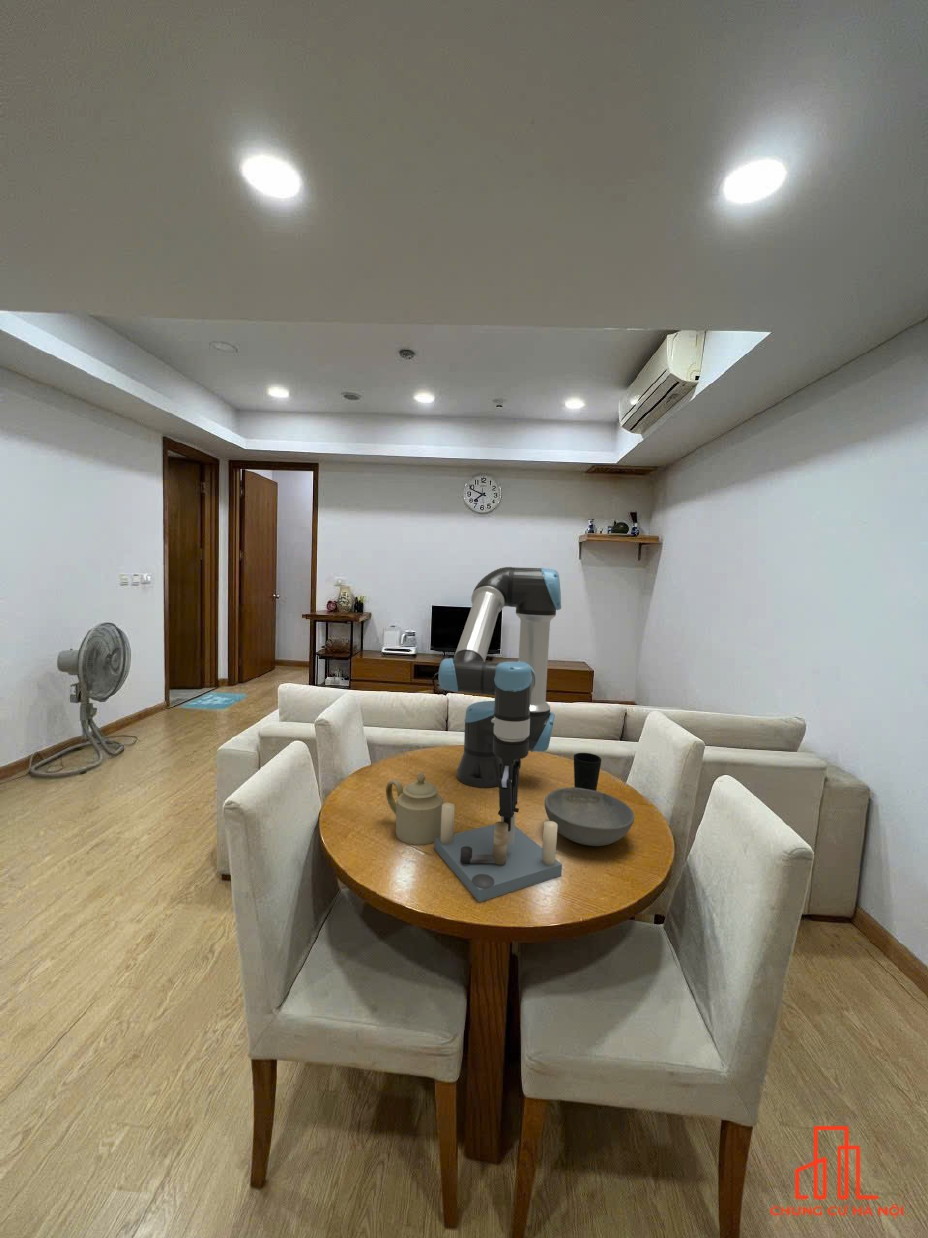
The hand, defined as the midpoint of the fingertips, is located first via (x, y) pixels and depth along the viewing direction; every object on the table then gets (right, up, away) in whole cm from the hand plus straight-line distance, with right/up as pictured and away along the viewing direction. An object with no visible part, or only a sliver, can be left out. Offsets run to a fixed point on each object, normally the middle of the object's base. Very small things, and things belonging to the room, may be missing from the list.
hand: (507, 842), depth 106 cm
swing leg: (-5, -2, -4) cm, 7 cm away
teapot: (-22, -3, +12) cm, 25 cm away
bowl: (+20, -5, +14) cm, 25 cm away
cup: (+25, -3, +34) cm, 42 cm away
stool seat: (-2, -5, +1) cm, 6 cm away
